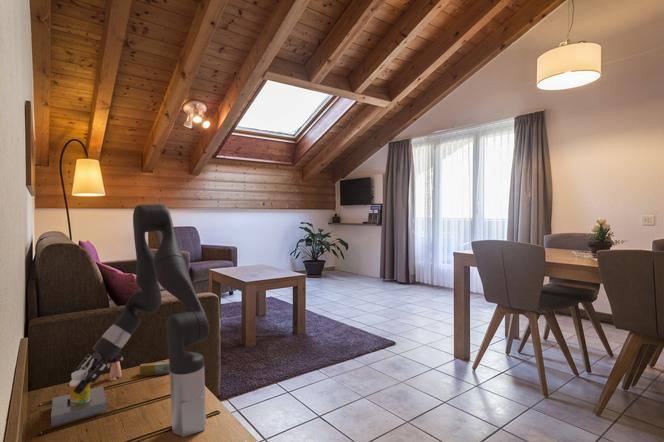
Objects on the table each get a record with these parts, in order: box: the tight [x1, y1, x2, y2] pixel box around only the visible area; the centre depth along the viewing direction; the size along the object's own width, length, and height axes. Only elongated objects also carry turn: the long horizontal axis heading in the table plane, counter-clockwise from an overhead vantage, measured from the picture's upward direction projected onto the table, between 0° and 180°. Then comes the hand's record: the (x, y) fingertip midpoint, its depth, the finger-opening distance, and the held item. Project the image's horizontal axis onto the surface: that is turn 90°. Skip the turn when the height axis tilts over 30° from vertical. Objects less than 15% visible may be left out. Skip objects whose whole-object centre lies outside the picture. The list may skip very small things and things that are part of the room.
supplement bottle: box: [68, 370, 91, 406], centre depth 121 cm, size 5×5×10 cm
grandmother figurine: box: [106, 352, 124, 382], centre depth 145 cm, size 8×4×13 cm, turn 179°
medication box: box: [139, 361, 170, 377], centre depth 148 cm, size 12×3×4 cm, turn 96°
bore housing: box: [50, 385, 108, 428], centre depth 121 cm, size 14×14×3 cm
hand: (73, 389), depth 120 cm, fingers closed on supplement bottle, 5 cm apart
